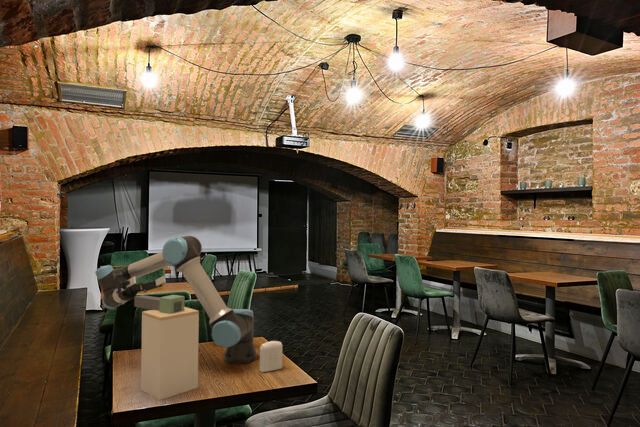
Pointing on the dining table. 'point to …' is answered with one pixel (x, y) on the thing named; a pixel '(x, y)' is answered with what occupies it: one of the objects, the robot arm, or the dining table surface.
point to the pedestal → (169, 352)
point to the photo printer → (270, 356)
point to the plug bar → (161, 303)
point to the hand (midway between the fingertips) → (150, 279)
